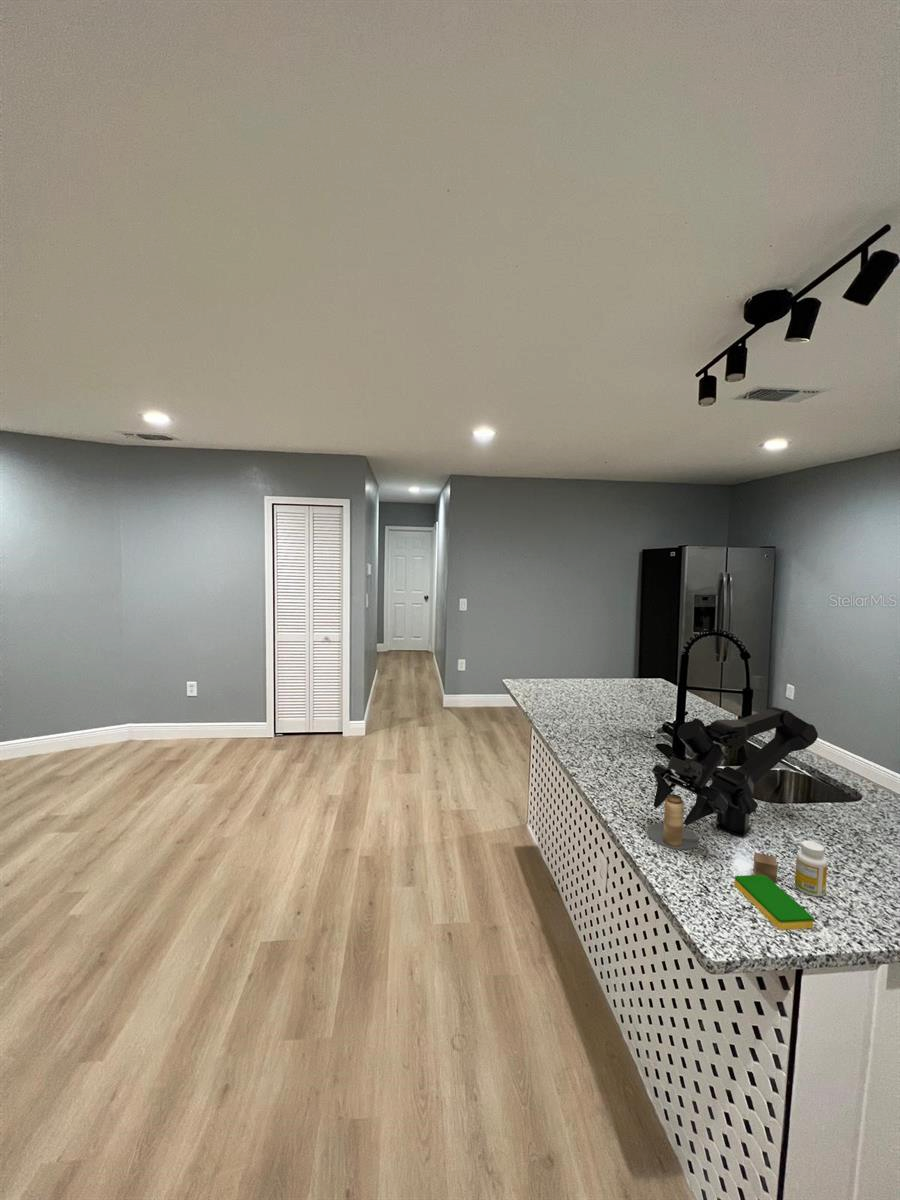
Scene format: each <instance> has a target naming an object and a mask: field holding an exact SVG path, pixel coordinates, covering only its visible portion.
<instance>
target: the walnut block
mask: <svg viewBox="0 0 900 1200" xmlns="http://www.w3.org/2000/svg"><path fill="white" fill-rule="evenodd" d="M753 873H754V874H753V875H765V876H767V877H768V878H769V879H770V880H772V881H773V882H774V883H775V884H777V878H778V862H777V857H776V856H774V855H769V854H764V853H761V852H757V851H756V852H754V857H753Z"/></svg>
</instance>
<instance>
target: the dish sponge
mask: <svg viewBox="0 0 900 1200" xmlns="http://www.w3.org/2000/svg"><path fill="white" fill-rule="evenodd" d="M733 885H734V886H735V888H737V890H739V891H740V892H741V894H742V895H743V896H745V897H746V899H747V900H749V901H750V902H751V903H752V905H754V907H756V908H757V909H758V910H759V912H760V913H761V914H763V915H764V916H765V917H766V918H767V919H768V920H769V921H770V922H771V923H772V925H774V926H775V927H776V929H778V930H780V931H781V930H782V929H783V930H800V929H801V930H804V929H813V928H814V919H815V918H814V917H813V916H812V915H811V913H809V911H807V910H806V909H805V908H803V907H802V906H801V905H800V904H799V903H798V902H797V901H796V900H795V899H793V898H792V897H791V896H790V895H789V894H788V893H786V891H784V890H783V889H782V888H781V887H780V886H778V885H777V883H774V882H773V881H772V880H770V879H769V878H768V877H767V876H765V875H754V874H752V875H751V874H750V875H749V874H748V875H734V883H733Z"/></svg>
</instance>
